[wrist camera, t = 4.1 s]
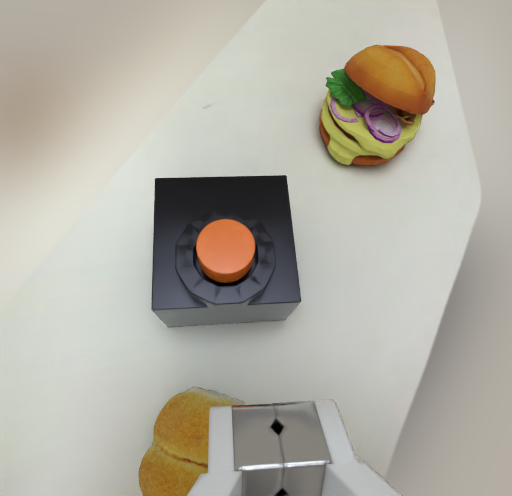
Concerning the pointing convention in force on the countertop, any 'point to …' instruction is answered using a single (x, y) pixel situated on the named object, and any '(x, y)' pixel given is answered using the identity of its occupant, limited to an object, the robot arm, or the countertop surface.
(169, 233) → the black push button box
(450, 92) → the countertop surface
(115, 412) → the countertop surface
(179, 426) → the bread roll
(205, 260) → the orange button cap
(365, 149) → the cheeseburger
